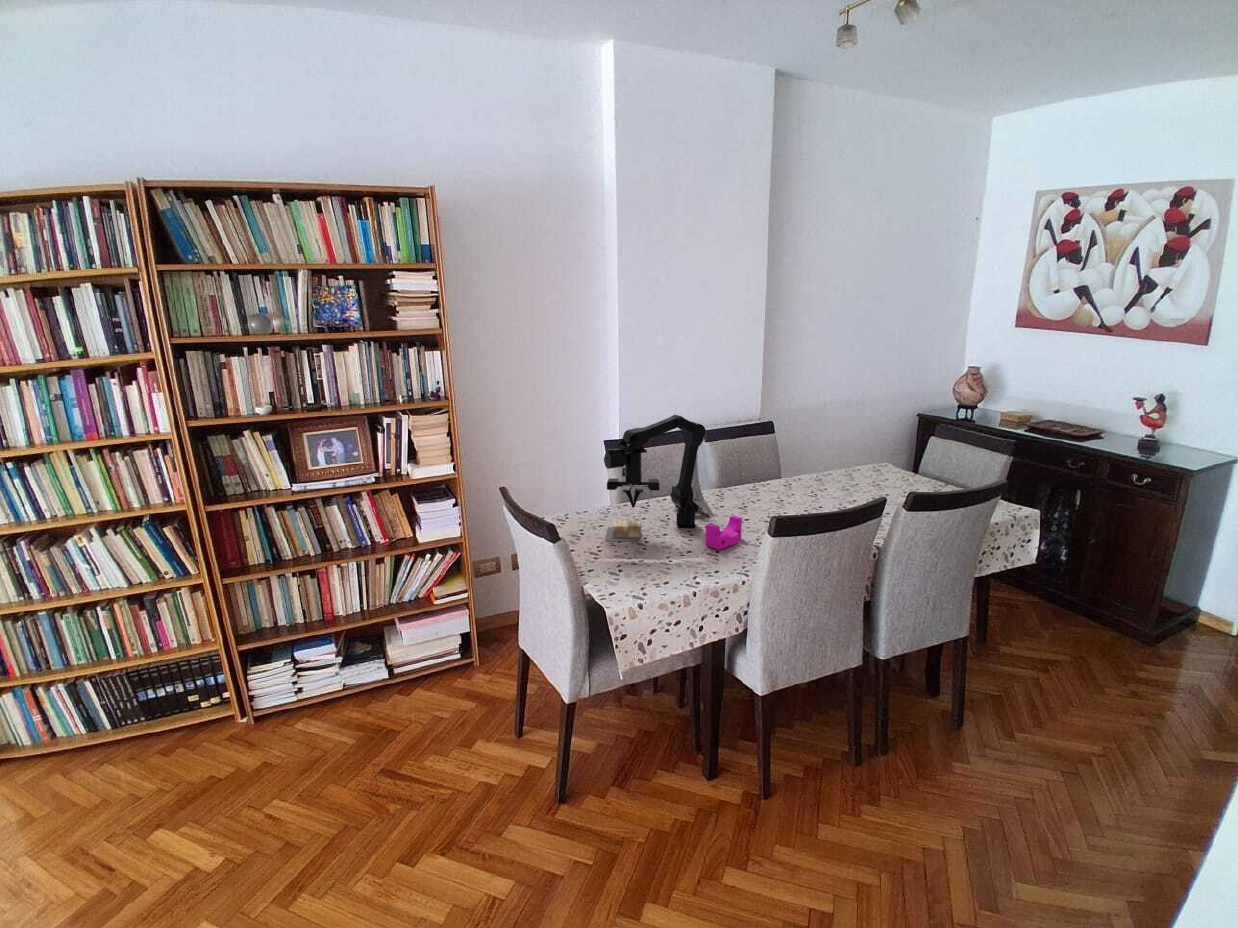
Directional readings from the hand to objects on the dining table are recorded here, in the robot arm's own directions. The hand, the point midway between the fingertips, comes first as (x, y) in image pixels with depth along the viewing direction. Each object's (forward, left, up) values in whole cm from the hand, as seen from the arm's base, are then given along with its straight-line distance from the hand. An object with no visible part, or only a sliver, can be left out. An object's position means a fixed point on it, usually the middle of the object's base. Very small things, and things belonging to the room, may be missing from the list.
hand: (633, 507), depth 230 cm
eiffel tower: (-23, -24, -11) cm, 35 cm away
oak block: (-3, 0, -8) cm, 9 cm away
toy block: (-33, +5, -11) cm, 35 cm away
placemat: (+4, 0, -11) cm, 11 cm away
